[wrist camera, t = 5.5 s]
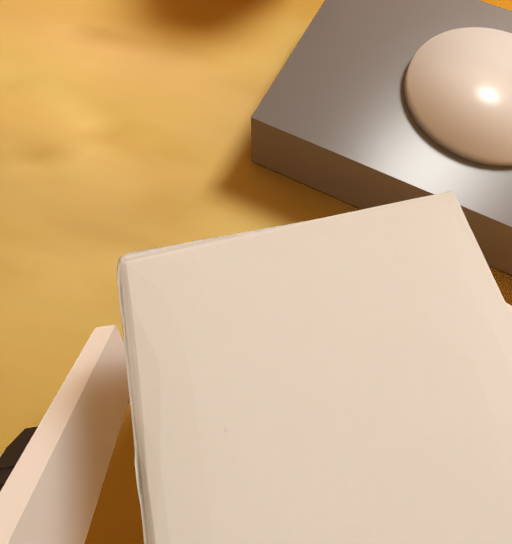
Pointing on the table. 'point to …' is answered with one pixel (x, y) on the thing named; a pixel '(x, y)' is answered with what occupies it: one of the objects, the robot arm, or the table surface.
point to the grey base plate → (399, 110)
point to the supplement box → (322, 383)
